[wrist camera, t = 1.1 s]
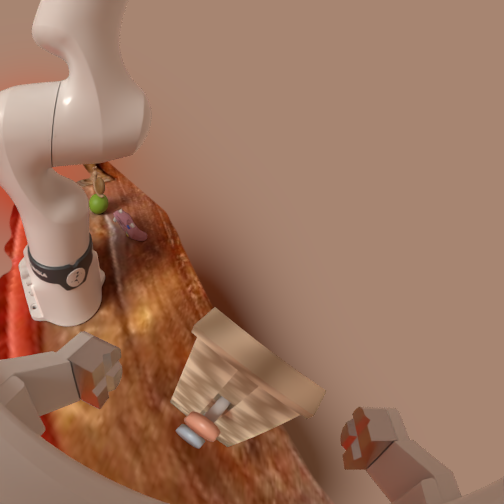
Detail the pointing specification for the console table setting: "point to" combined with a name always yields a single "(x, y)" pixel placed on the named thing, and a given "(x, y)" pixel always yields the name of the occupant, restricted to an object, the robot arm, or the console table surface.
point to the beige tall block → (241, 382)
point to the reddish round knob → (207, 420)
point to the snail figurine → (98, 195)
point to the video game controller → (129, 225)
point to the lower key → (190, 435)
